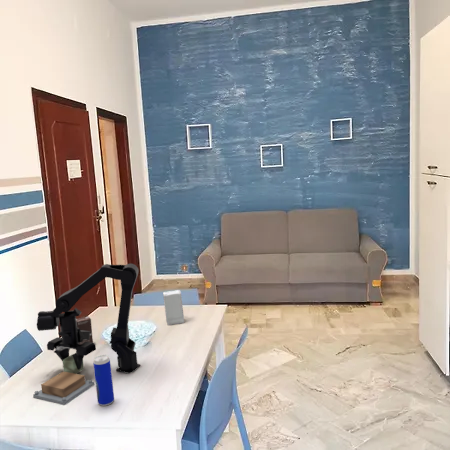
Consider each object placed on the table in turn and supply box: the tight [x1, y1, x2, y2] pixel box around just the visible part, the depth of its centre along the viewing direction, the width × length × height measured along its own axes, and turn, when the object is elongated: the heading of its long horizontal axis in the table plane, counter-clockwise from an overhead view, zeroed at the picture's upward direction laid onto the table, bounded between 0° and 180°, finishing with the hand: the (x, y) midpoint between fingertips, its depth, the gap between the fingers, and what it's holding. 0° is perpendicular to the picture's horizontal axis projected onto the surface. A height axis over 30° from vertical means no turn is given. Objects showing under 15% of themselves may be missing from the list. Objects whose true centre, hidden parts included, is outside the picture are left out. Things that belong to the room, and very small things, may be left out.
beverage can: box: [93, 354, 115, 406], centre depth 147 cm, size 5×5×15 cm
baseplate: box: [32, 379, 95, 406], centre depth 158 cm, size 14×14×2 cm
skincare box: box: [162, 289, 185, 326], centre depth 216 cm, size 8×6×15 cm
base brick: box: [40, 370, 86, 397], centre depth 157 cm, size 10×10×3 cm
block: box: [61, 353, 85, 374], centre depth 169 cm, size 5×5×5 cm
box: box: [76, 315, 94, 345], centre depth 195 cm, size 6×4×12 cm
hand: (73, 368), depth 170 cm, fingers closed on block, 5 cm apart
